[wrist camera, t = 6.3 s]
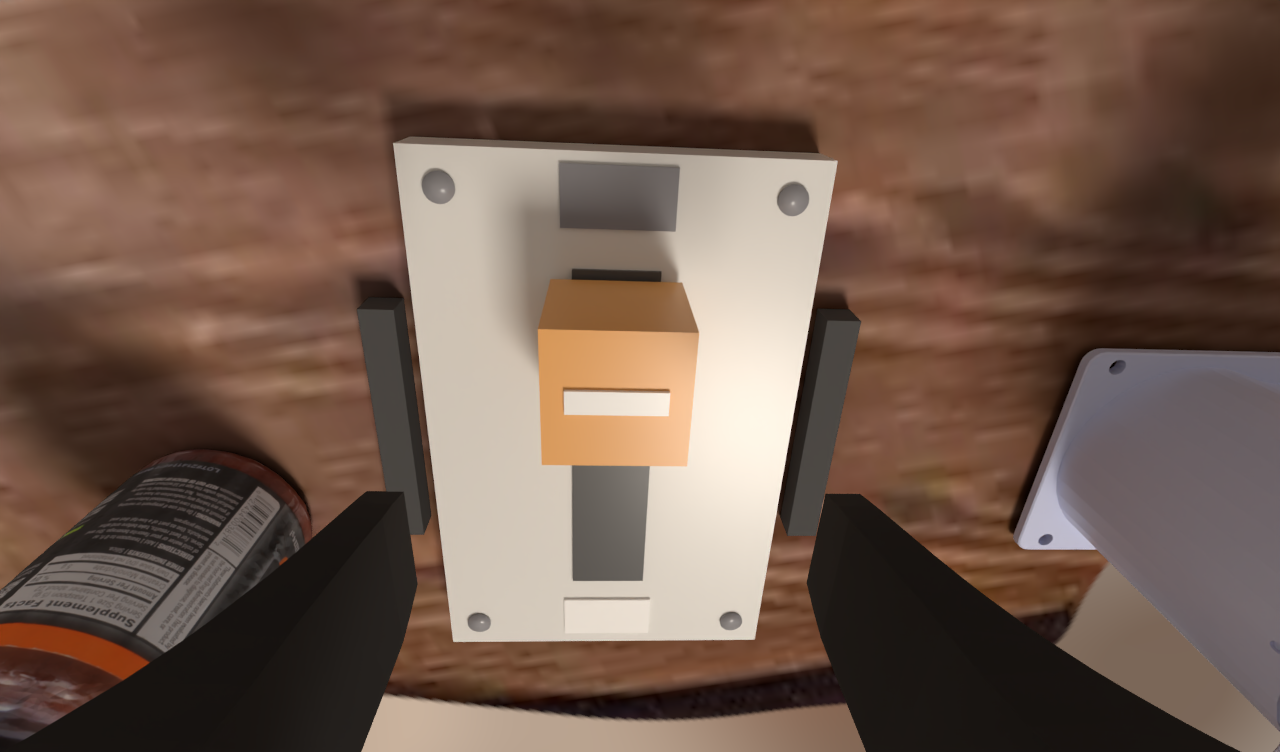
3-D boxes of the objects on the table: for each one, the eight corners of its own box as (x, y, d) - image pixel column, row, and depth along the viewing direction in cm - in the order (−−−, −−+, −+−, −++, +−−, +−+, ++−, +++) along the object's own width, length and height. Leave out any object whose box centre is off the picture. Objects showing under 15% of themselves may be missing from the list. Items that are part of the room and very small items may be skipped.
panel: (819, 153, 17) (839, 161, 16) (746, 608, 25) (754, 641, 24) (410, 136, 17) (391, 143, 15) (461, 609, 24) (452, 644, 23)
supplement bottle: (294, 599, 24) (59, 1002, 14) (121, 545, 22) (-286, 951, 12) (342, 481, 21) (106, 858, 11) (153, 412, 20) (-312, 773, 10)
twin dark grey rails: (849, 309, 20) (860, 321, 19) (807, 517, 23) (815, 535, 22) (368, 297, 19) (356, 309, 18) (401, 515, 22) (393, 534, 21)
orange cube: (682, 282, 17) (699, 334, 14) (673, 397, 19) (687, 468, 15) (550, 279, 17) (537, 330, 14) (552, 395, 18) (541, 467, 15)
